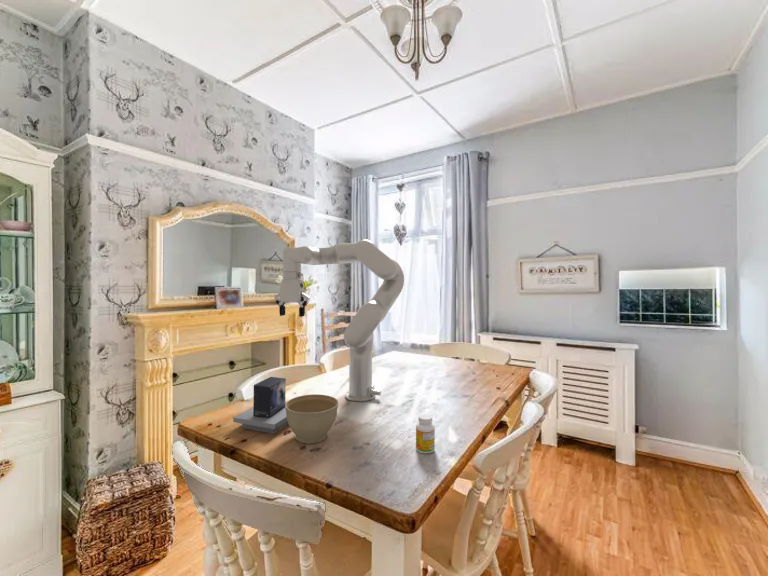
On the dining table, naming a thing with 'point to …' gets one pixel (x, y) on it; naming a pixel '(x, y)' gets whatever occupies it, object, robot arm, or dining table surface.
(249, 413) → the stand
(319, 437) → the planter bowl
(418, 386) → the dining table surface
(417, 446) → the supplement bottle
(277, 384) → the small box
